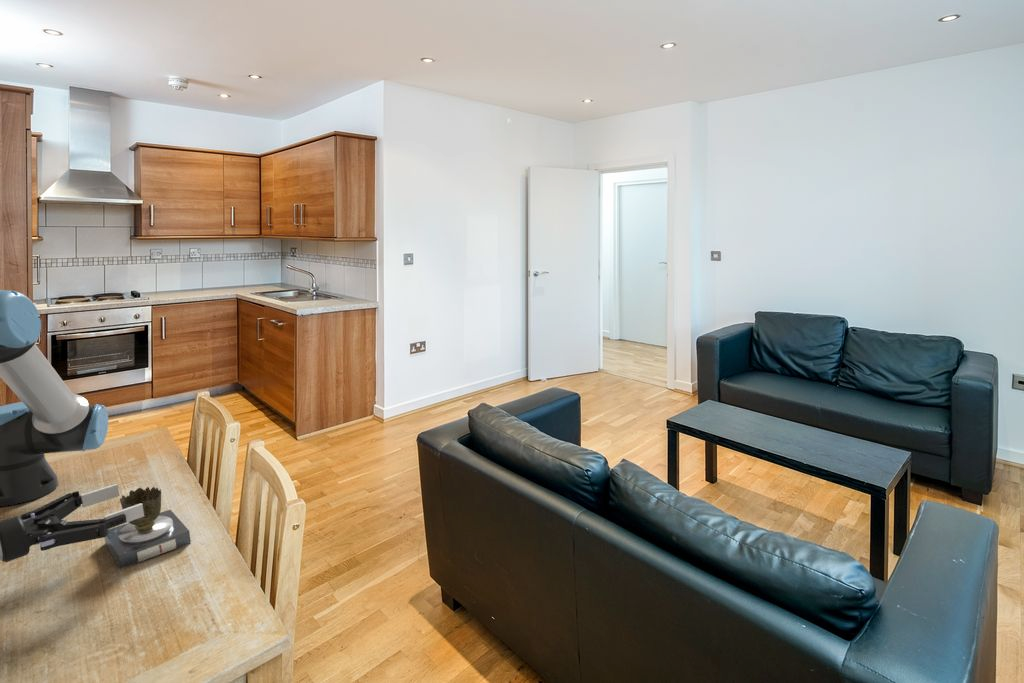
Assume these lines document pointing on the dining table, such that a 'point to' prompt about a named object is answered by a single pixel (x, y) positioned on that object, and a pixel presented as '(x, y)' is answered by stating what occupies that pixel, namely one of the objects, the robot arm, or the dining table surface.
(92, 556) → the dining table surface
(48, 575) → the dining table surface
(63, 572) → the dining table surface
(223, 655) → the dining table surface
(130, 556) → the kitchen scale
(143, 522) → the cup
